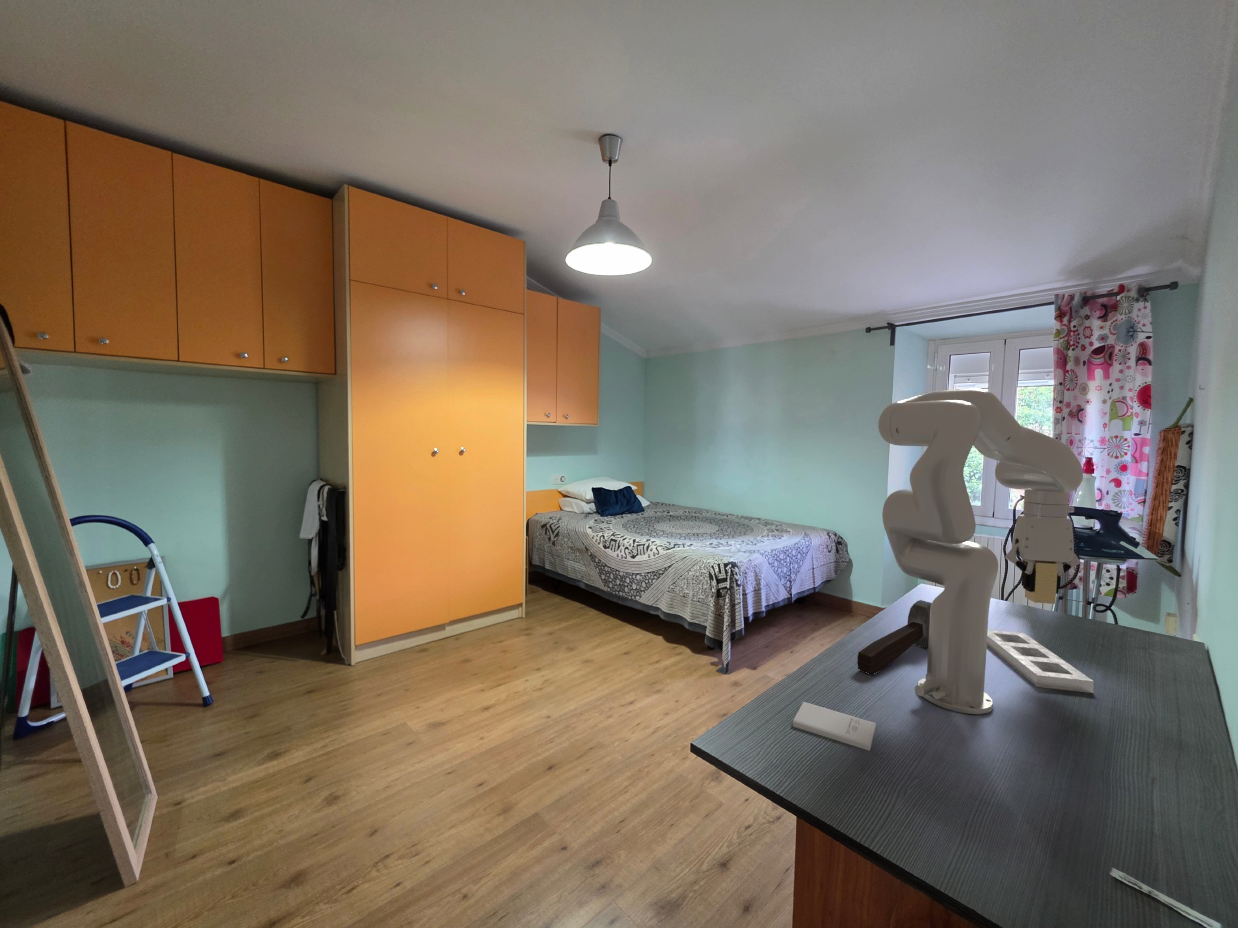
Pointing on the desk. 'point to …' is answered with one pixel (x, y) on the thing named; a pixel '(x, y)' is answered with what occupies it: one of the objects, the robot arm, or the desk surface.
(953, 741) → the desk surface
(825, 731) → the external hard drive
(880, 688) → the desk surface
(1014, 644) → the white flat frame
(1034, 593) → the brass peg
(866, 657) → the hammer
